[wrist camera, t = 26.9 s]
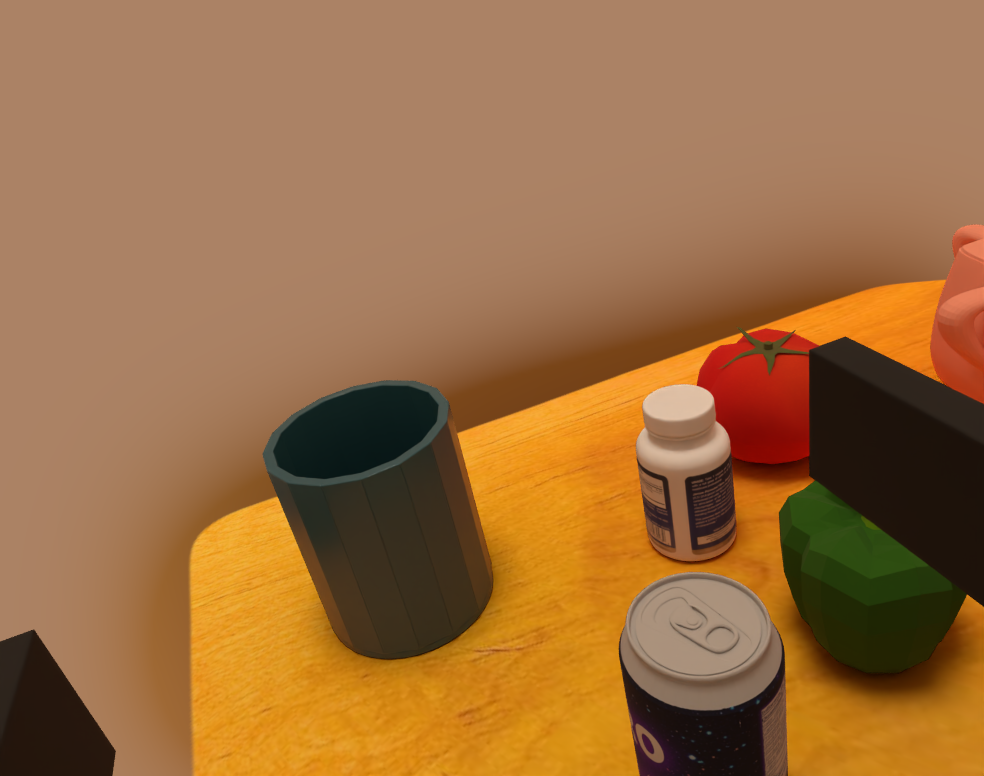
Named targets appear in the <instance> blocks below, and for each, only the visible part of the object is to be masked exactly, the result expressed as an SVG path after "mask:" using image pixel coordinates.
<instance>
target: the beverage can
mask: <svg viewBox="0 0 984 776" xmlns="http://www.w3.org/2000/svg"><path fill="white" fill-rule="evenodd" d="M619 658H620V664H621V670H622V675H623V681H624V687H625V693H626V699H627V704H628V710H629V716H630V722H631V728H632V734H633V739H634V745H635V751H636V757H637V763H638V769H639V774H640V776H788V766H787V728H786V690H785V654H784V646H783V642H782V639H781V637H780V634H779V632H778V631H777V629H776V627H775V626H774V624H773V623H772V621H771V620H770V616H769V613H768V611H767V609H766V607H765V606H764V604H763V602H762V601H761V600H760V599H759V598H758V596H757V595H756V594H755V593H753V592H752V591H751V590H750V589H749V588H747V587H746V586H744V585H743V584H741V583H739V582H737V581H735V580H733V579H730V578H727V577H724V576H721V575H717V574H712V573H704V572H687V573H679V574H675V575H670V576H667V577H665V578H662V579H659V580H657V581H655V582H653V583H652V584H650V585H649V586H647V587H646V588H644V589H643V590H642V591H641V592H640V593H639V594H638V595H637V596H636V598H635V599H634V600H633V602H632V603H631V605H630V607H629V610H628V613H627V617H626V625H625V627H624V629H623V631H622V634H621V637H620V642H619Z"/></svg>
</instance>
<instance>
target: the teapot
mask: <svg viewBox="0 0 984 776" xmlns="http://www.w3.org/2000/svg"><path fill="white" fill-rule="evenodd" d="M952 244H953V252H954V257H955V260H954V262H953V265H952V267H951V270H950V272H949V275H948V277H947V280H946V282H945V285H944V288H943V291H942V294H941V297H940V300H939V303H938V307H937V310H936V315H935V319H934V324H933V330H932V336H931V346H930V349H931V358H932V361H933V365H934V368H935V371H936V373H937V375H938V377H939V378H940V379H941V380H942V381H943V382H944V383H945V384H946V385H948V386H949V387H950V388H952V389H954V390H956V391H958V392H960V393H962V394H964V395H966V396H968V397H970V398H972V399H974V400H977V401H979V402H981V403H983V404H984V225H968V226H964V227H961V228H960V229H958V230H957V231H956V232H955V234H954V236H953V240H952Z"/></svg>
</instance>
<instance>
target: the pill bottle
mask: <svg viewBox="0 0 984 776" xmlns="http://www.w3.org/2000/svg"><path fill="white" fill-rule="evenodd" d="M642 407H643V416H644V423H645V428H644V429H643V430H642V432H641V433H640V435H639V436H638V439H637V442H636V454H637V462H638V469H639V476H640V483H641V490H642V497H643V504H644V512H645V518H646V526H647V532H648V536H649V539H650V541H651V543H652V545H653V546H654V547H655V548H656V549H657V550H658V551H659V552H660V553H662V554H663V555H665V556H668V557H670V558H673V559H677V560H682V561H700V560H706V559H710V558H713V557H716V556H718V555H720V554H721V553H723V552H724V551H726V550H727V549H728V548H729V547H730V546H731V545H732V543H733V541H734V539H735V536H736V514H735V500H734V487H733V473H732V458H731V447H730V439H729V436H728V433H727V432H726V430H725V429H724V428H723V427H722V426H721V425H720V424H719V423H718V422H716V412H715V404H714V398H713V396H712V394H711V393H710V392H709V391H708V390H706V389H704V388H702V387H699V386H694V385H686V384H681V385H671V386H667V387H663V388H660V389H658V390H656V391H654V392H652V393H651V394H649V395H648V396H647V397H646V398H645V400H644V402H643V406H642Z"/></svg>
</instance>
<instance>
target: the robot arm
mask: <svg viewBox="0 0 984 776" xmlns="http://www.w3.org/2000/svg"><path fill="white" fill-rule="evenodd" d="M809 476H810V477H812V478H813V479H814V480H816V481H817V482H818V483H820V484H821V485H822V486H824V487H825V488H826V489H828V490H829V491H830V492H832V493H833V494H834V495H836V496H837V497H838V498H840V499H841V500H842V501H844V502H845V503H846V504H848V505H849V506H850V507H852V508H853V509H854V510H856V511H857V512H858V513H860V514H861V515H862V516H864V517H865V518H866V519H868V520H869V521H870V522H872V523H873V524H874V525H876V526H877V527H878V528H880V529H881V530H882V531H884V532H885V533H886V534H888V535H889V536H890V537H892V538H893V539H894V540H896V541H897V542H898V543H900V544H901V545H902V546H904V547H905V548H906V549H908V550H909V551H910V552H912V553H913V554H914V555H916V556H917V557H918V558H920V559H921V560H922V561H924V562H925V563H926V564H928V565H929V566H930V567H932V568H933V569H934V570H936V571H937V572H938V573H940V574H941V575H942V576H944V577H945V578H946V579H948V580H949V581H950V582H952V583H953V584H954V585H956V586H957V587H958V588H960V589H961V590H962V591H964V592H965V593H966V594H968V595H969V596H970V597H972V598H973V599H974V600H976V601H977V602H978V603H980V604H981V605H982V606H984V404H983V403H981V402H979V401H977V400H974V399H972V398H970V397H968V396H966V395H964V394H962V393H960V392H958V391H956V390H954V389H952V388H950V387H948V386H946V385H944V384H942V383H940V382H938V381H936V380H933V379H931V378H929V377H927V376H925V375H923V374H921V373H919V372H917V371H915V370H913V369H911V368H909V367H907V366H905V365H903V364H901V363H899V362H897V361H895V360H892V359H890V358H888V357H886V356H884V355H882V354H880V353H878V352H876V351H874V350H872V349H870V348H868V347H866V346H864V345H862V344H860V343H858V342H856V341H854V340H851V339H849V338H847V337H843V338H840V339H838V340H835V341H832V342H829V343H827V344H824V345H821V346H818V347H816V348H813V349H810V350H809ZM115 752H116V751H115V749H114V748H113V746H112V745H111V743H110V742H109V740H108V739H107V737H106V736H105V734H104V733H103V731H102V730H101V728H100V727H99V726H98V724H97V723H96V721H95V720H94V718H93V717H92V715H91V714H90V712H89V711H88V709H87V708H86V706H85V705H84V703H83V702H82V700H81V699H80V697H79V696H78V694H77V693H76V691H75V690H74V688H73V687H72V685H71V684H70V682H69V681H68V679H67V678H66V676H65V675H64V673H63V672H62V670H61V669H60V668H59V666H58V665H57V663H56V662H55V660H54V659H53V657H52V656H51V654H50V653H49V651H48V650H47V648H46V647H45V645H44V644H43V642H42V641H41V639H40V638H39V636H38V635H37V633H36V632H35V630H31V631H28V632H26V633H23V634H20V635H17V636H14V637H12V638H9V639H6V640H3V641H1V642H0V776H112V774H113V767H114V760H115Z"/></svg>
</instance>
